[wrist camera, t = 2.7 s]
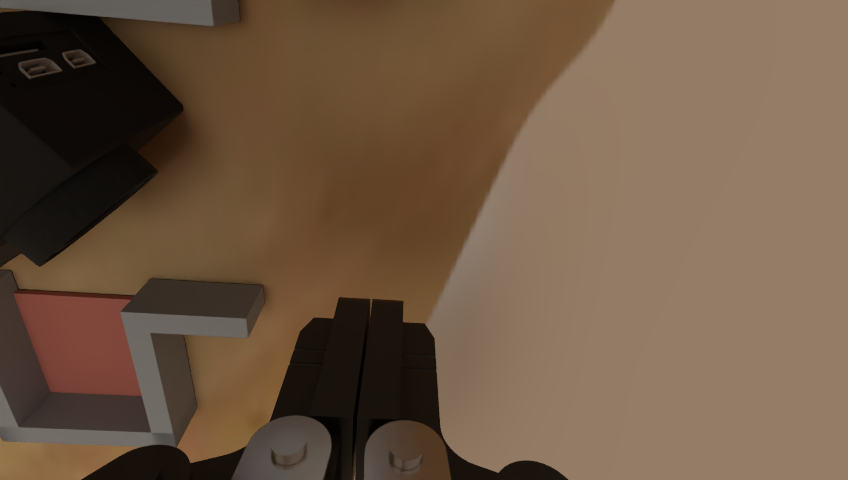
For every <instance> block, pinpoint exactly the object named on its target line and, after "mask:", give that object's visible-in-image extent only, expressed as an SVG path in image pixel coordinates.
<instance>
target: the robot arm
mask: <svg viewBox="0 0 848 480" xmlns="http://www.w3.org/2000/svg"><path fill="white" fill-rule="evenodd" d="M355 468H356V471H355ZM355 473H356V474H355ZM354 476H355V480H568V479H567V478H566V477H564V476H563V475H562V474H560V473H559V472H558V471H557V470H555V469H553V468H552V467H550V466H547V465H545V464H543V463H539V462H535V461H517V462H514V463H511V464H509V465H507V466H505V467H504V468H503V469H502V470H501V471H500V472H499V473H497V472H494V471H491V470H488V469H486V468H483V467H480V466H477V465H474V464H472V463H469V462H467V461H466V460H464V459H462V458H461V457H459V456H458V455H457V454H456V453H454V452H453V451H452V449H450V447H449V446H448V445H447V443H446V442H445V440H444V438H443V436H442V433H441V428H440V417H439V402H438V386H437V372H436V358H435V340H434V337H433V336H432V334H431V333H430V331H429V330H428V328H427V327H426V325H425V324H423V323H405V322H403V301H397V300H380V299H373V301H372V308H371V316H370V299H361V298H343V297H339V299H338V303H337V307H336V311H335V315H334V319H331V318H313V319H312V320H311V321H310V322H309V323H308V324H307V325H306V326H305V327H304V328H303V329H302V330H301V331H300V333H299V336H298V339H297V342H296V345H295V350H294V351H293V354H292V357H291V360H290V365H289V366H288V369H287V372H286V375H285V378H284V381H283V384H282V387H281V390H280V393H279V396H278V399H277V402H276V405H275V408H274V411H273V414H272V417H271V419H270V422H269V423H267V424H265V425H264V426H262V427H261V428H260V429H259V430H258V431H257V432H255V434H254V435H253V436H252V437H251V439H250V441H249V442H248V444H247V446H245V447H244V448H242V449H240V450H238V451H235V452H233V453H230V454H227V455H223V456H219V457H215V458H211V459H207V460H202V461H198V462H194V463H190V461H189V459H188V457H187V456H186V454H185V453H184V452H183V451H181V450H180V449H178V448H176V447H173V446H169V445H149V446H144V447H140V448H137V449H134V450H132V451H129V452H127V453H125V454H123V455H121V456H119V457H118V458H116V459H114V460H113V461H111V462H109V463H108V464H106V465H105V466H103V467H101V468H100V469H98V470H96V471H95V472H93V473H91V474H90V475H88V476H86V477H85V478H83V479H82V480H354Z"/></svg>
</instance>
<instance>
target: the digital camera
mask: <svg viewBox="0 0 848 480" xmlns="http://www.w3.org/2000/svg"><path fill="white" fill-rule="evenodd" d="M182 110H183V106H182V104H181V103H180V102H179V101H178V100H177V99H176V98H175V97H174V96H173V95H172V94H171V93H170V92H169V91H168V90H167V89H166V88H165V87H164V86H163V84H162V83H161V82H160V81H159V80H158V79H157V78H156V77H155V76H154V75H153V74H152V73H151V72H150V71H149V70H148V69H147V68H146V67H145V66H144V65H143V64H142V63H141V61H140V60H139V59H138V58H137V57H136V56H135V55H134V54H133V53H132V52H131V51H130V50H129V49H128V48H127V47H126V46H125V45H124V44H123V43H122V42H121V41H120V40H119V38H118V37H117V36H116V35H115V34H114V33H113V32H112V31H111V30H110V29H109V28H108V27H107V26H106V25H105V24H104V23H103V22H102V21H101V20H100V19H99V18H98V17H97V16H90V15H79V14H68V13H56V12H45V11H20V12H1V13H0V267H1V266H3V265H4V264H6V263H7V262H9V261H10V260H12V259H13V258H15V257H16V256H18V255H19V254H21V253H22V254H24V255H25V256H26V257H27V258H29V259H30V260H31V261H32V262H34V263H35V264H36V265H38V266H39V267H40V266H42V265H44V264H45V263H47V262H48V261H50V260H51V259H52V258H54V257H55V256H57V255H58V254H59V253H61V252H62V251H63V250H65V249H66V248H67V247H69V246H70V245H71V244H73V243H74V242H75V241H76V240H78V239H79V238H80V237H82V236H83V235H84V234H85V233H87V232H88V231H89V230H91V229H92V228H93V227H94V226H96V225H97V224H98V223H99V222H101V221H102V220H103V219H104V218H106V217H107V216H108V215H109V214H111V213H112V212H113V211H114V210H116V209H117V208H118V207H119V206H120V205H122V204H123V203H124V202H125V201H126V200H128V199H129V198H130V197H131V196H132V195H134V194H135V193H136V192H137V191H138V190H139V189H141V188H142V187H143V186H144V185H145V184H146V183H147V182H148V181H150V180H151V179H152V178H153V177H154V176H155V175H156V174H157V173H158V171H157V170H156V169H155V168H154V167H153V166H152V165H151V164H150V163H149V162H148V161H147V160H146V159H144V158H143V157H142V156H141V155H140V154H139V153H138V152H137V151H138V150H139V149H141V148H142V147H143V146H144V145H145V144H146V143H147V142H148V141H150V140H151V139H152V138H153V137H154V136H155V135H156V134H157V133H159V132H160V131H161V130H162V129H163V128H164V127H165V126H166V125H168V124H169V123H170V122H171V121H172V120H173V119H174V118H175V117H177V116H178V115H179V114H180V113H181V112H182Z"/></svg>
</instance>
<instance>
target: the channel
mask: <svg viewBox="0 0 848 480" xmlns="http://www.w3.org/2000/svg"><path fill="white" fill-rule="evenodd" d="M0 8H10V9H22V10H33V11H45V12H56V13H68V14H79V15H90V16H102V17H113V18H125V19H136V20H148V21H159V22H170V23H182V24H193V25H205V26H218V25H224V24H229V23H234V22H240V14H239V2H238V0H0ZM263 306H264V291H263V285H250V284H232V283H215V282H198V281H180V280H163V279H150V280H149V281H148V282H147V283H146V284H145V285H144V286H143V287H142V288H141V290H140V291H139V292H138V293H137V294H136V295H135V296H125V295H107V294H89V293H71V292H53V291H35V290H18V288H17V285H16V283H15V280H14V277H13V275H12V272H11V271H8V270H0V436H1V438H2V440H3V441H8V442H34V443H60V444H86V445H112V446H138V447H144V446H149V445H169V446H173V447H176V448H177V446H178V444H179V442H180V440H181V438H182V436H183V434H184V432H185V430H186V429H187V427H188V425H189V423H190V421H191V419H192V417H193V415H194V413H195V411H196V409H197V404H196V399H195V394H194V388H193V383H192V378H191V372H190V367H189V362H188V356H187V351H186V346H185V341H184V335H201V336H220V337H239V338H248V337H249V335H250V333H251V331H252V329H253V327H254V325H255V322H256V320H257V318H258V316H259V314H260V312H261V310H262V308H263Z"/></svg>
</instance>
